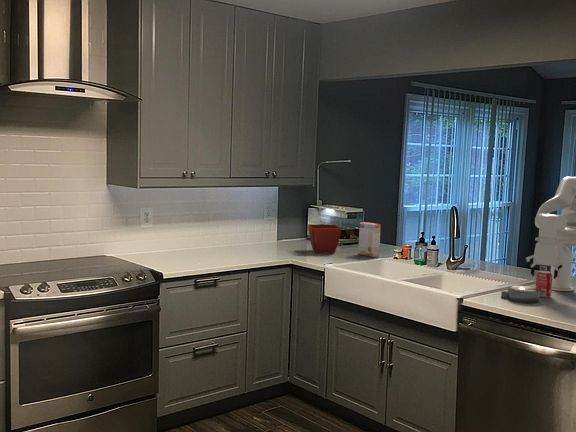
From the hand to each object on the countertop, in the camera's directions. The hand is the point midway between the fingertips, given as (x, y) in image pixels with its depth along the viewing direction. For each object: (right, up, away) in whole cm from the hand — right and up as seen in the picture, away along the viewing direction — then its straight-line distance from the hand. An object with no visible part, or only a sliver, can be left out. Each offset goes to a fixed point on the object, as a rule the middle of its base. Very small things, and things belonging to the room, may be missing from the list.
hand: (543, 277), depth 301 cm
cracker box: (-70, +3, +105) cm, 126 cm away
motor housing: (-14, -10, -7) cm, 18 cm away
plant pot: (-98, +5, +115) cm, 151 cm away
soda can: (0, -10, +2) cm, 10 cm away
